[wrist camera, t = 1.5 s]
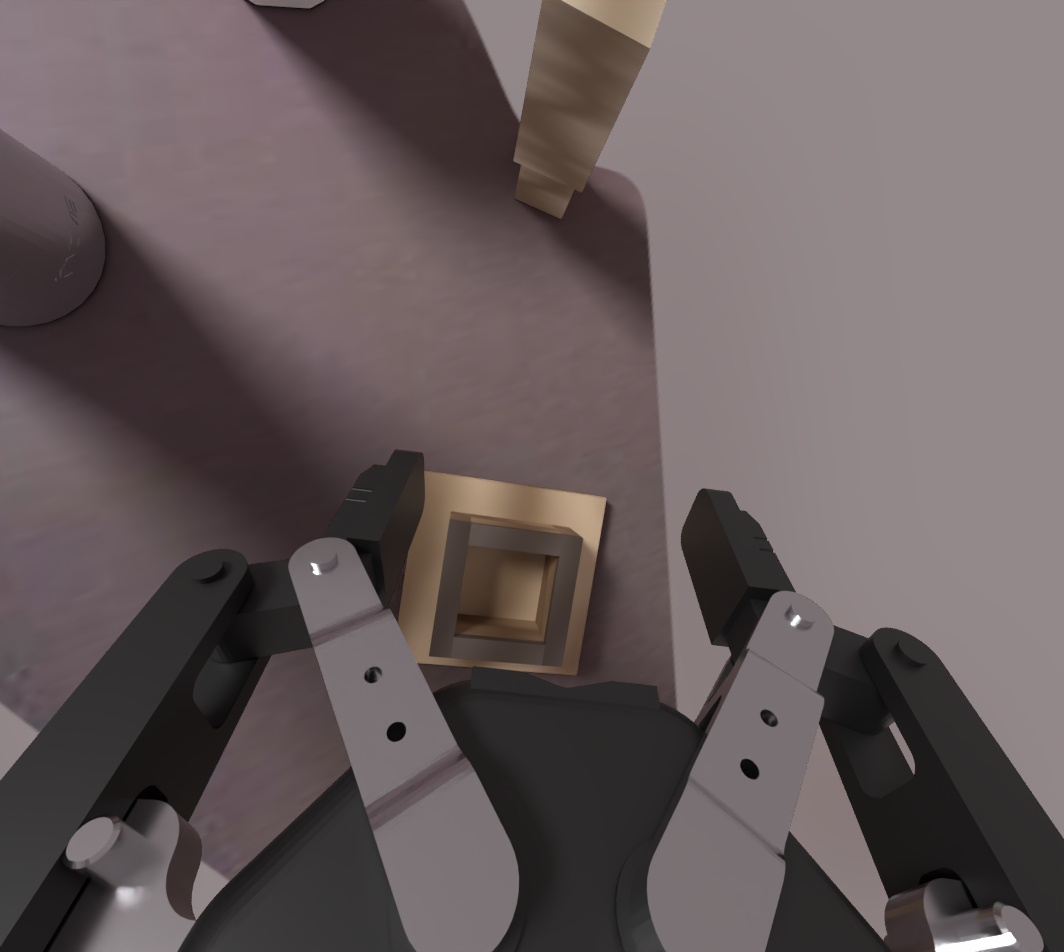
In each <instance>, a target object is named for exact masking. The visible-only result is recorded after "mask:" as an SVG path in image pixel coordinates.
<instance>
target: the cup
mask: <svg viewBox="0 0 1064 952" xmlns="http://www.w3.org/2000/svg"><path fill="white" fill-rule="evenodd" d="M249 1H251V2H252V3H254V4H256V5H266V6H281V7H295V8H312V7H314V6H315V5H317V4H319V3H321V2H323V1H324V0H249Z"/></svg>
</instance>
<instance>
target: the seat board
mask: <svg viewBox="0 0 1064 952" xmlns="http://www.w3.org/2000/svg"><path fill="white" fill-rule="evenodd" d="M424 478H425V503H424V509H423V513H422V516H421V519H420V522H419V525H418V527H417V530H416V533H415V535H414V538H413V540H412V543H411V546H410V548H409V551H408V556H407V563H406V570H405V576H404V583H403V590H402V597H401V603H400V610H399V617H398V625H399V627H400V629H401V631H402V633H403V635H404V638H405V640H406V642H407V644H408V646H409V648H410V650H411V652H412V654H413V656H414V658H415V660H416V662H417V663H423V664H436V665H449V666H462V667H473V666H478V667H487V668H496V669H505V670H514V671H526V672H539V673H552V674H565V675H577V671H578V665H579V659H580V653H581V647H582V641H583V636H584V630H585V624H586V618H587V612H588V606H589V600H590V594H591V588H592V582H593V576H594V570H595V564H596V558H597V552H598V546H599V541H600V535H601V529H602V523H603V517H604V511H605V505H606V499H607V498H604V497H601V496H595V495H588V494H581V493H574V492H568V491H561V490H554V489H547V488H541V487H534V486H527V485H520V484H514V483H507V482H500V481H493V480H487V479H480V478H473V477H466V476H460V475H453V474H446V473H440V472H433V471H426V470H424Z"/></svg>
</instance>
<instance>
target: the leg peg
mask: <svg viewBox="0 0 1064 952" xmlns="http://www.w3.org/2000/svg"><path fill="white" fill-rule="evenodd" d="M666 1H667V0H542V4H541V10H540V15H539V21H538V27H537V32H536V38H535V43H534V49H533V55H532V60H531V66H530V71H529V77H528V82H527V88H526V94H525V99H524V105H523V110H522V116H521V121H520V127H519V132H518V138H517V144H516V149H515V155H514V160H513V161H514V162H516V163H518V164H521V168H520V173H519V178H518V182H517V187H516V192H515V197H514V198H515V199H517V200H519V201H522V202H524V203H526V204H528V205H530V206H533V207H535V208H537V209H539V210H541V211H544V212H546V213H548V214H550V215H553V216H555V217H557V218H559V219H562V217H563V214H564V212H565V210H566V208H567V205H568V203H569V201H570V199H571V196H572V194H573V192H574V190H576V191H578V192H581V193H582V191H583V189H584V187H585V185H586V183H587V181H588V179H589V176H590V174H591V172H592V170H593V168H594V166H595V164H596V162H597V159H598V157H599V155H600V153H601V151H602V149H603V147H604V145H605V143H606V141H607V139H608V136H609V134H610V132H611V130H612V128H613V126H614V124H615V122H616V120H617V117H618V115H619V113H620V111H621V109H622V107H623V105H624V103H625V101H626V98H627V96H628V94H629V92H630V90H631V88H632V86H633V84H634V82H635V80H636V77H637V75H638V73H639V71H640V69H641V67H642V65H643V63H644V61H645V58H646V56H647V54H648V52H649V50H650V47H651V45H652V42H653V39H654V36H655V33H656V30H657V27H658V24H659V21H660V18H661V15H662V12H663V10H664V7H665V4H666Z"/></svg>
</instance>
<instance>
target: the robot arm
mask: <svg viewBox="0 0 1064 952" xmlns="http://www.w3.org/2000/svg"><path fill="white" fill-rule="evenodd" d="M104 261H105V237H104V233H103V229H102V225H101V221H100V219H99V217H98V215H97V213H96V211H95V208H94V206H93V204H92V203H91V201H90V200H89V199H88V197H87V196H86V195H85V193H84V192H83V191H82V189H81V188H80V187H79V186H78V185H77V184H76V183H75V182H74V181H73V180H72V179H70V178H69V177H68V176H67V175H66V174H65V173H64V172H62V171H61V170H59V169H58V168H56V167H55V166H54V165H52V164H51V163H49V162H48V161H46V160H45V159H43V158H42V157H40V156H39V155H37V154H36V153H35V152H33V151H32V150H30V149H29V148H27V147H26V146H24V145H23V144H21V143H20V142H18V141H17V140H16V139H14V138H13V137H11V136H10V135H8V134H7V133H5V132H4V131H2V130H1V129H0V325H5V326H32V325H37V324H42V323H48V322H50V321H53V320H55V319H58V318H60V317H62V316H65V315H67V314H68V313H70V312H71V311H72V310H74V309H75V308H77V307H78V306H80V305H81V304H82V303H83V302H84V301H85V299H86V298H87V297H88V296H89V295H90V294H91V293H92V292H93V290H94V288H95V286H96V284H97V282H98V280H99V278H100V277H101V274H102V270H103V265H104ZM424 503H425V478H424V457H423V453H421V452H413V451H405V450H397V449H396V450H395V451H394V452H393V454H392V455H391V457H390V459H389V461H388V463H387V464H386V466H383V465H375V464H374V465H373V466H372V467H370V468H369V469H367V470H366V471H365V472H363V473H362V474H360V476H359V477H358V479H357V481H356V482H355V484H354V486H353V489H352V490H350V492H349V494H348V495H347V497H346V500H344V502H343V504H342V505H341V507H340V508H339V510H338V512H337V513H336V515H335V517H334V518H333V520H332V521H331V523H330V525H329V526H328V528H327V530H326V531H325V533H324V535H323V536H322V538H321V539H317V540H314V541H311V542H309V543H307V544H305V545H303V546H302V547H300V548H299V549H298V550H297V551H296V552H295V553H294V554H293V555H292V557H291V558H290V559H286V560H280V561H273V562H265V563H257V564H250V565H248V563H247V561H246V559H245V557H244V556H243V555H242V554H241V553H239V552H237V551H234V550H228V549H218V550H211V551H207V552H204V553H200V554H198V555H196V556H193V557H191V558H190V559H188V560H186V561H185V562H183V563H182V564H181V565H179V566H178V567H177V568H176V569H175V570H174V571H173V572H172V574H171V575H170V576H169V577H168V578H167V580H166V581H165V582H164V583H163V584H162V586H161V587H160V588H159V589H158V591H157V592H156V593H155V594H154V595H153V597H152V598H151V599H150V600H149V601H148V603H147V604H146V605H145V606H144V607H143V609H142V610H141V611H140V612H139V614H138V615H137V616H136V617H135V618H134V620H133V621H132V622H131V623H130V624H129V626H128V627H127V628H126V629H125V630H124V632H123V633H122V634H121V635H120V637H119V638H118V639H117V640H116V641H115V643H114V644H113V645H112V646H111V647H110V649H109V650H108V651H107V652H106V653H105V655H104V656H103V657H102V658H101V659H100V661H99V662H98V663H97V664H96V666H95V667H94V668H93V669H92V670H91V672H90V673H89V674H88V675H87V676H86V678H85V679H84V680H83V681H82V682H81V684H80V685H79V686H78V687H77V689H76V690H75V691H74V692H73V693H72V695H71V696H70V697H69V698H68V699H67V701H66V702H65V703H64V704H63V705H62V707H61V708H60V709H59V710H58V711H57V713H56V714H55V715H54V716H53V718H52V719H51V720H50V721H49V722H48V724H47V725H46V726H45V727H44V728H43V730H42V731H41V732H40V733H39V734H38V736H37V737H36V738H35V740H34V741H33V742H32V743H31V745H29V747H28V748H27V749H26V750H25V751H24V753H23V754H22V755H21V756H20V757H19V759H18V760H17V761H16V762H15V764H14V765H13V766H12V767H11V768H10V770H9V771H8V772H7V773H6V774H5V776H4V777H3V778H2V779H1V780H0V952H1064V839H1063V837H1062V836H1061V834H1060V833H1059V832H1058V830H1057V828H1056V827H1055V826H1054V824H1053V823H1052V821H1051V820H1050V818H1049V817H1048V815H1047V814H1046V813H1045V811H1044V810H1043V808H1042V807H1041V805H1040V804H1039V802H1038V801H1037V800H1036V798H1035V797H1034V795H1033V794H1032V792H1031V791H1030V789H1029V788H1028V787H1027V785H1026V783H1025V782H1024V781H1023V779H1022V778H1021V776H1020V775H1019V773H1018V772H1017V770H1016V769H1015V768H1014V766H1013V765H1012V763H1011V762H1010V760H1009V759H1008V757H1007V756H1006V755H1005V753H1004V752H1003V750H1002V749H1001V747H1000V746H999V744H998V743H997V742H996V740H995V739H994V737H993V736H992V734H991V733H990V731H989V730H988V728H987V727H986V726H985V724H984V723H983V721H982V720H981V718H980V717H979V715H978V714H977V712H976V711H975V709H974V708H973V707H972V705H971V704H970V703H969V701H968V699H967V698H966V696H965V695H964V694H963V692H962V691H961V689H960V688H959V686H958V685H957V683H956V682H955V680H954V679H953V677H952V676H951V675H950V673H949V672H948V670H947V669H946V667H945V666H944V664H943V663H942V662H941V660H940V659H939V658H938V656H937V655H936V654H935V653H934V652H933V651H932V650H931V649H930V648H929V647H928V646H927V645H925V644H924V643H923V642H921V641H920V640H918V639H917V638H915V637H913V636H912V635H910V634H908V633H906V632H903V631H901V630H897V629H893V628H880V629H878V630H877V631H875V632H874V633H873V634H872V635H871V636H870V637H869V638H866V637H864V636H861V635H858V634H855V633H853V632H850V631H847V630H845V629H842V628H839V627H836V626H834V625H833V623H832V621H831V619H830V617H829V616H828V614H827V613H826V612H825V611H824V610H823V609H822V608H821V607H820V606H819V605H818V604H816V603H815V602H814V601H812V600H811V599H809V598H807V597H805V596H803V595H801V594H798V593H796V591H795V590H794V588H793V586H792V584H791V582H790V580H789V578H788V577H787V575H786V573H785V571H784V569H783V567H782V565H781V564H780V562H779V560H778V558H777V556H776V554H775V553H773V549H772V547H771V545H770V543H769V541H767V537H766V535H765V534H764V532H763V530H762V528H761V526H760V524H759V523H758V522H757V521H756V520H755V519H754V518H752V517H751V516H750V515H749V514H748V513H747V512H746V511H741V510H740V509H739V507H738V505H737V503H736V501H735V499H734V498H733V496H732V494H731V493H730V492H728V491H720V490H712V489H701V490H700V491H699V492H698V494H697V496H696V499H695V501H694V503H693V505H692V508H691V510H690V512H689V514H688V517H687V519H686V522H685V524H684V526H683V529H682V533H681V546H682V550H683V554H684V557H685V560H686V563H687V566H688V570H689V573H690V576H691V579H692V583H693V586H694V589H695V592H696V596H697V599H698V602H699V605H700V609H701V612H702V615H703V618H704V622H705V625H706V628H707V631H708V635H709V638H710V641H711V644H712V645H717V646H726V647H729V649H730V652H731V656H730V657H729V659H728V660H727V662H726V664H725V665H724V667H723V669H722V671H721V673H720V675H719V677H718V679H717V681H716V683H715V685H714V687H713V689H712V691H711V693H710V694H709V696H708V698H707V700H706V702H705V704H704V706H703V708H702V710H701V712H700V714H699V715H698V717H697V719H696V720H695V722H692V721H691V720H690V719H689V718H687V717H686V716H685V715H683V714H681V713H680V712H679V711H677V710H675V709H674V708H672V707H670V706H668V705H666V704H664V703H661V702H659V698H658V692H657V687H656V686H650V685H641V684H632V683H623V682H614V681H610V682H604V683H598V684H591V685H585V686H578V687H572V688H564V687H560V686H558V685H555V684H552V683H550V682H547V681H544V680H542V679H539V678H536V677H534V676H531V675H528V674H526V673H523V672H520V671H514V670H505V669H496V668H487V667H478V666H473V672H472V678H471V680H467V681H462V682H458V683H455V684H451V685H449V686H446V687H444V688H441V689H439V690H437V691H436V692H434V693H432V692H431V690H430V688H429V686H428V684H427V682H426V680H425V678H424V676H423V674H422V672H421V670H420V668H419V666H418V664H417V662H416V660H415V658H414V656H413V654H412V652H411V650H410V648H409V646H408V644H407V642H406V640H405V638H404V635H403V633H402V631H401V629H400V627H399V625H398V623H397V621H396V619H395V617H394V615H393V613H392V612H391V610H390V609H389V608H388V604H389V602H390V599H391V596H392V594H393V591H394V588H395V586H396V583H397V580H398V578H399V575H400V572H401V570H402V567H403V564H404V562H405V559H406V556H407V554H408V551H409V548H410V546H411V543H412V540H413V538H414V535H415V533H416V530H417V527H418V525H419V522H420V519H421V516H422V513H423V509H424ZM383 606H385V607H386V608H384V607H383ZM311 647H313V648H314V652H315V655H316V658H317V661H318V664H319V667H320V670H321V673H322V677H323V680H324V683H325V686H326V689H327V692H328V695H329V698H330V701H331V705H332V708H333V711H334V714H335V717H336V720H337V723H338V727H339V730H340V733H341V736H342V739H343V742H344V745H345V748H346V752H347V755H348V758H349V761H350V764H351V767H350V768H349V769H348V770H347V771H346V772H345V773H344V774H343V775H342V776H341V777H339V778H338V779H337V780H336V781H335V782H334V783H333V784H332V785H331V786H330V787H329V788H328V789H327V790H326V791H325V792H324V793H323V794H322V795H320V796H319V797H318V798H317V799H316V800H315V801H314V802H313V803H312V804H311V805H310V806H309V807H308V808H307V809H306V810H305V811H304V812H303V813H301V814H300V815H299V816H298V817H297V818H296V819H295V820H294V821H293V822H292V823H291V824H290V825H289V826H288V827H287V828H286V829H285V830H284V831H282V832H281V833H280V834H279V835H278V836H277V837H276V838H275V839H274V840H273V841H272V842H271V843H270V844H269V845H268V846H267V847H266V848H264V849H263V850H262V851H261V852H260V853H259V854H258V855H257V856H256V857H255V858H254V859H253V860H252V861H251V862H250V863H249V864H248V865H247V866H245V867H244V868H243V869H242V870H241V871H240V872H239V873H238V874H237V875H236V876H235V877H234V878H233V879H232V880H231V881H230V882H229V883H228V884H227V885H226V886H225V887H224V888H223V889H222V890H221V891H220V892H219V893H218V894H217V895H216V896H215V897H214V899H213V900H212V901H211V902H210V903H209V905H208V906H207V907H206V909H205V910H204V911H203V912H202V914H201V915H200V916H199V918H198V919H197V920H196V919H195V917H194V914H193V911H192V903H191V901H192V900H191V899H192V889H193V884H194V881H195V878H196V874H197V872H198V869H199V866H200V862H201V856H202V843H201V839H200V836H199V834H198V832H197V831H196V830H195V828H193V827H192V826H191V825H190V824H189V823H188V822H189V820H190V818H191V816H192V814H193V812H194V810H195V808H196V806H197V804H198V802H199V800H200V798H201V796H202V794H203V791H204V789H205V787H206V785H207V783H208V781H209V779H210V777H211V775H212V773H213V771H214V769H215V767H216V765H217V763H218V761H219V759H220V757H221V755H222V753H223V751H224V749H225V747H226V745H227V743H228V741H229V739H230V737H231V735H232V733H233V731H234V729H235V727H236V725H237V723H238V721H239V719H240V717H241V715H242V713H243V711H244V709H245V707H246V705H247V703H248V701H249V699H250V697H251V695H252V693H253V691H254V689H255V687H256V685H257V683H258V681H259V679H260V677H261V675H262V673H263V671H264V669H265V667H266V665H267V663H268V661H269V659H270V657H271V655H273V654H278V653H284V652H289V651H295V650H300V649H305V648H311ZM893 722H895V723H896V725H897V727H898V728H899V730H900V732H901V734H902V736H903V738H904V740H905V742H906V743H907V745H908V747H909V749H910V751H911V753H912V755H913V758H914V762H915V774H914V775H913V773H912V771H911V769H910V767H909V765H908V763H907V761H906V759H905V757H904V755H903V753H902V751H901V750H900V748H899V746H898V744H897V742H896V740H895V738H894V736H893V734H892V732H891V730H890V728H889V726H890V725H891V724H892V723H893ZM818 724H819V725H820V727H821V730H822V733H823V735H824V737H825V740H826V742H827V745H828V747H829V750H830V753H831V755H832V757H833V760H834V762H835V765H836V767H837V770H838V772H839V775H840V777H841V780H842V783H843V785H844V788H845V790H846V793H847V795H848V798H849V800H850V803H851V805H852V808H853V810H854V813H855V815H856V818H857V820H858V823H859V825H860V828H861V830H862V833H863V835H864V838H865V840H866V843H867V846H868V848H869V850H870V853H871V855H872V858H873V861H874V863H875V866H876V868H877V871H878V873H879V876H880V878H881V881H882V883H883V885H884V888H885V891H886V893H887V895H888V898H889V900H888V902H887V905H886V908H885V926H886V931H887V935H886V936H885V938H884V941H883V940H882V939H881V938H880V936H879V935H878V934H877V933H876V932H875V930H874V929H873V928H872V927H871V926H870V925H869V923H868V922H867V921H866V920H865V919H864V918H863V916H862V915H861V914H860V913H859V912H858V911H857V910H856V908H855V907H854V906H853V905H852V904H851V902H850V901H849V900H848V899H847V898H846V897H845V895H844V894H843V893H842V892H841V891H840V890H839V889H838V887H837V886H836V885H835V884H834V883H833V881H832V880H831V879H830V878H829V877H828V876H827V874H826V873H825V872H824V871H823V870H822V869H821V867H820V866H819V865H818V864H817V863H816V862H815V860H814V859H813V858H812V857H811V856H810V855H809V853H808V852H807V851H806V850H805V849H804V848H803V846H802V845H801V844H800V843H799V842H798V841H797V840H796V838H795V837H794V836H793V835H792V834H791V832H790V831H789V829H790V825H791V821H792V818H793V814H794V811H795V807H796V803H797V800H798V796H799V792H800V789H801V785H802V782H803V778H804V775H805V771H806V767H807V764H808V760H809V756H810V753H811V749H812V745H813V742H814V739H815V735H816V731H817V727H818Z"/></svg>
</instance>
